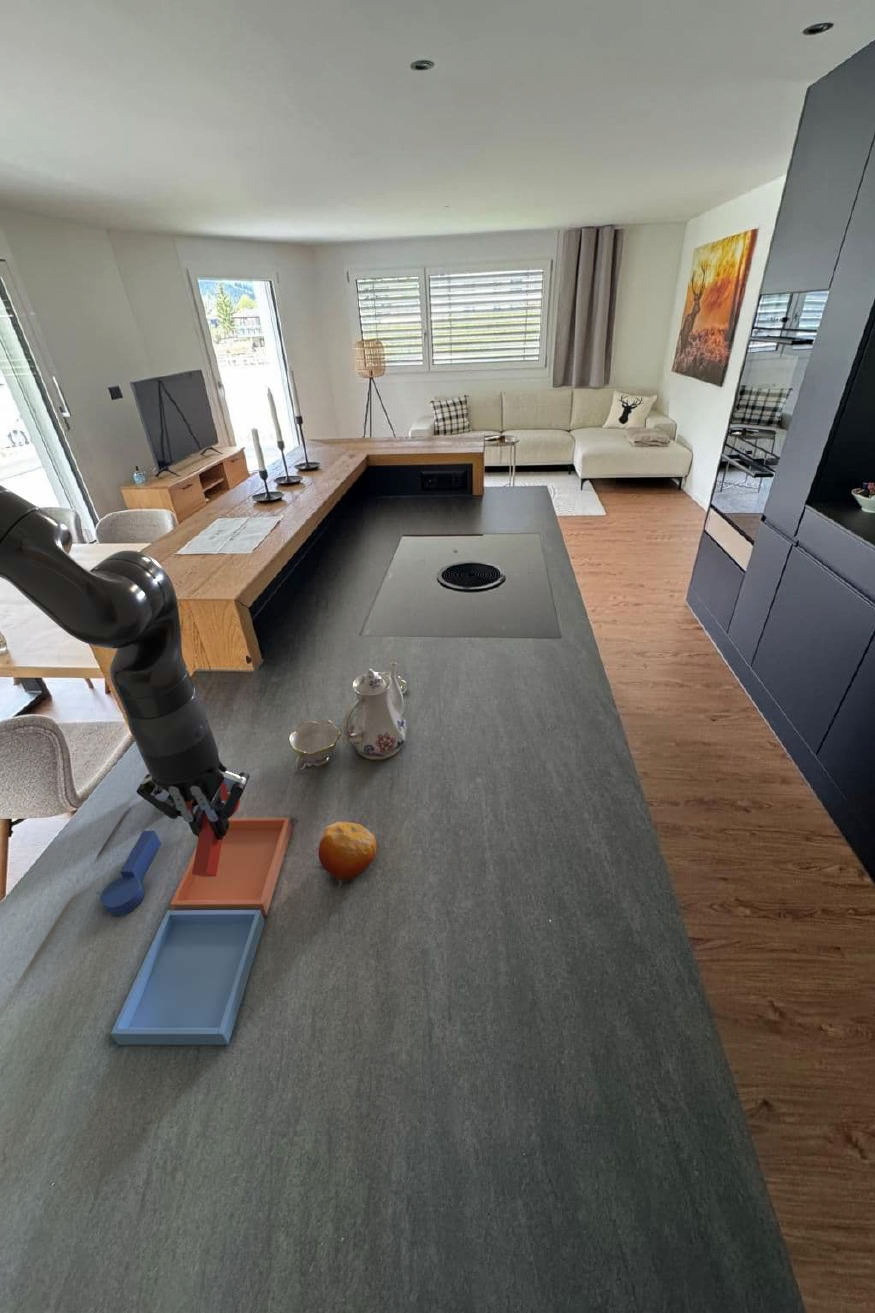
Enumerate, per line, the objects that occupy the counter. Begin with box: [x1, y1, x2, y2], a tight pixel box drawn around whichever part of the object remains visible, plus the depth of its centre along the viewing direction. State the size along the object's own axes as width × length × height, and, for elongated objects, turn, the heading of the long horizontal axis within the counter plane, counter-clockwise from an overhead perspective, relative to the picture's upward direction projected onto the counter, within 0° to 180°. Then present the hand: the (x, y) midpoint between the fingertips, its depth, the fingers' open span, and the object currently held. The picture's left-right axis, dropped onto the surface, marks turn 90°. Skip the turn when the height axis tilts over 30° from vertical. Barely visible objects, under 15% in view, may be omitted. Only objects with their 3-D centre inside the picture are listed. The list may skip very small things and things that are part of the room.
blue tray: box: [110, 910, 266, 1046], centre depth 65 cm, size 12×14×2 cm
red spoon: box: [192, 782, 241, 877], centre depth 71 cm, size 12×5×3 cm, turn 179°
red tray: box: [169, 816, 293, 916], centre depth 78 cm, size 12×14×2 cm
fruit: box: [318, 821, 378, 890], centre depth 77 cm, size 8×8×8 cm
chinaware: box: [287, 662, 409, 772], centre depth 97 cm, size 28×17×17 cm, turn 150°
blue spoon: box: [100, 830, 162, 917], centre depth 77 cm, size 12×5×3 cm, turn 179°
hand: (213, 834), depth 71 cm, fingers closed on red spoon
